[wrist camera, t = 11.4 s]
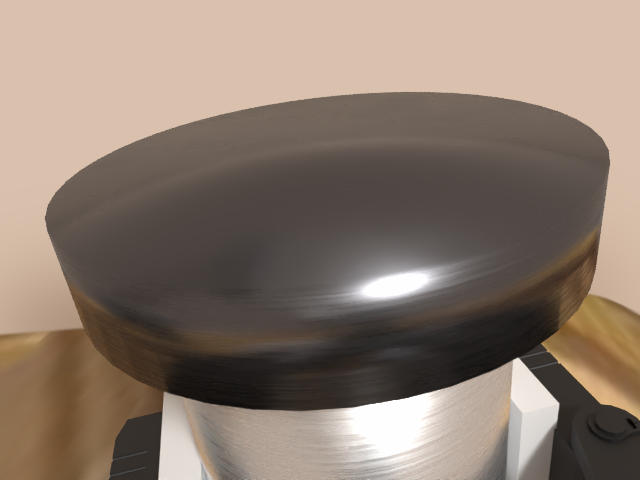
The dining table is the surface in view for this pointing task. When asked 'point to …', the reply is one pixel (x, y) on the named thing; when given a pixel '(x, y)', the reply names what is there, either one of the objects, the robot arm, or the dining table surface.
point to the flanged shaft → (338, 275)
